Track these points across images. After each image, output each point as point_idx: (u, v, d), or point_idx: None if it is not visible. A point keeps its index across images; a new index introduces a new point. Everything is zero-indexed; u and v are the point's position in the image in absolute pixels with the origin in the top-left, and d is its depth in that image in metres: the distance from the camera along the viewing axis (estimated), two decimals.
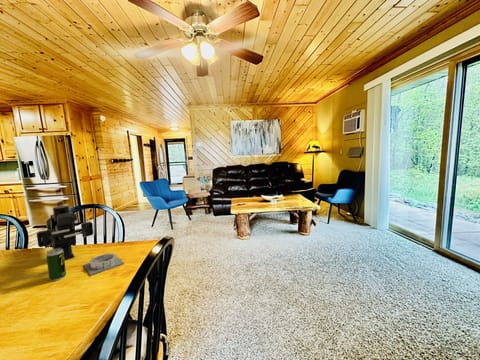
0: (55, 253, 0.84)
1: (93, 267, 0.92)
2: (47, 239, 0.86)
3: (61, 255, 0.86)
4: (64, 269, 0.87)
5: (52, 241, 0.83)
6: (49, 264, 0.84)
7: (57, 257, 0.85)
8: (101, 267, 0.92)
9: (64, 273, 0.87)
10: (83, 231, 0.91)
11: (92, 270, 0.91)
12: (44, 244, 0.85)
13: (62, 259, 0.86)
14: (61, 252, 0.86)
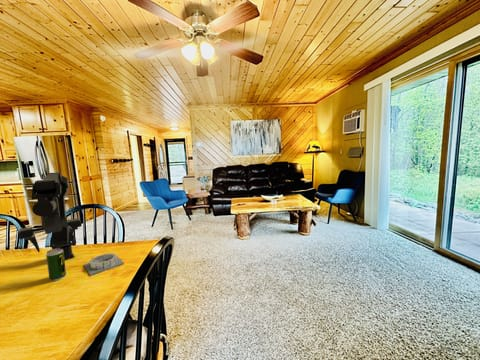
0: (55, 253, 0.84)
1: (93, 267, 0.92)
2: None
3: (61, 255, 0.86)
4: (64, 269, 0.87)
5: None
6: (49, 264, 0.84)
7: (57, 257, 0.85)
8: (101, 267, 0.92)
9: (64, 273, 0.87)
10: (69, 238, 0.88)
11: (92, 270, 0.91)
12: None
13: (62, 259, 0.86)
14: (61, 252, 0.86)
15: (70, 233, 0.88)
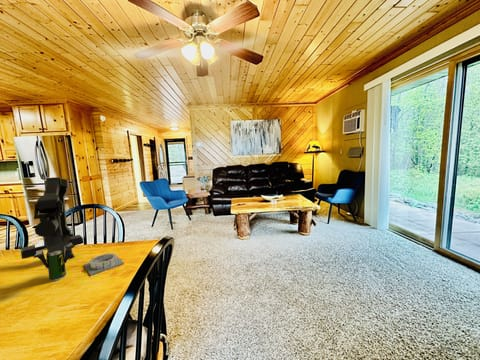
0: (55, 253, 0.84)
1: (93, 267, 0.92)
2: None
3: (61, 255, 0.86)
4: (64, 269, 0.87)
5: (44, 264, 0.84)
6: (49, 264, 0.84)
7: (57, 257, 0.85)
8: (101, 267, 0.92)
9: (64, 273, 0.87)
10: (66, 257, 0.88)
11: (92, 270, 0.91)
12: None
13: (62, 259, 0.86)
14: (61, 252, 0.86)
15: (67, 251, 0.88)
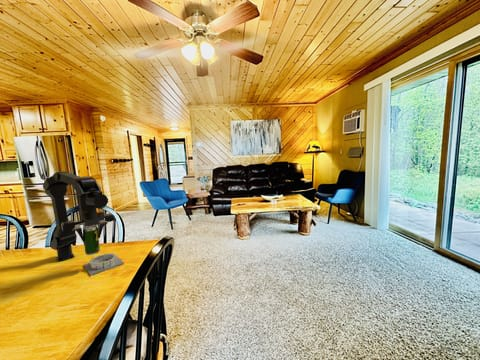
0: (91, 229, 0.91)
1: (93, 267, 0.92)
2: None
3: (96, 232, 0.93)
4: (98, 245, 0.94)
5: (81, 238, 0.90)
6: (86, 239, 0.90)
7: (93, 233, 0.91)
8: (101, 267, 0.92)
9: (98, 248, 0.94)
10: (100, 232, 0.94)
11: (92, 270, 0.91)
12: None
13: (97, 235, 0.93)
14: (96, 228, 0.93)
15: (100, 227, 0.94)
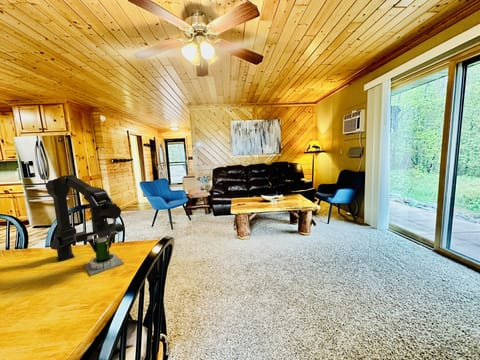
0: (102, 240, 0.94)
1: (93, 267, 0.92)
2: None
3: (107, 243, 0.96)
4: (109, 255, 0.97)
5: (92, 248, 0.93)
6: (97, 250, 0.93)
7: (104, 244, 0.94)
8: (101, 267, 0.92)
9: (109, 258, 0.97)
10: (110, 242, 0.98)
11: (92, 270, 0.91)
12: None
13: (108, 246, 0.96)
14: (107, 239, 0.96)
15: (111, 238, 0.97)
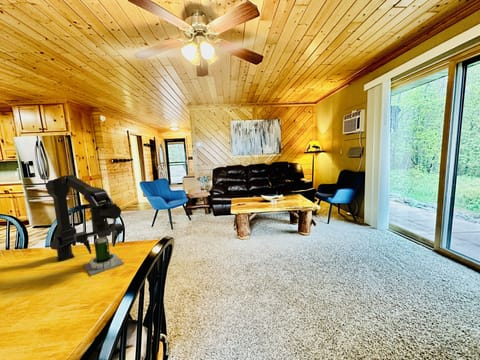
0: (103, 241, 0.94)
1: (93, 267, 0.92)
2: None
3: (107, 243, 0.96)
4: (109, 256, 0.97)
5: (88, 250, 0.92)
6: (97, 251, 0.94)
7: (104, 244, 0.94)
8: (101, 267, 0.92)
9: (109, 259, 0.97)
10: (114, 241, 0.99)
11: (92, 270, 0.91)
12: None
13: (108, 246, 0.96)
14: (107, 240, 0.96)
15: (115, 237, 0.99)
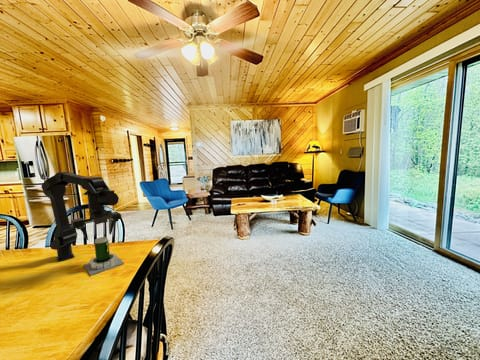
0: (102, 241, 0.94)
1: (93, 267, 0.92)
2: None
3: (107, 243, 0.96)
4: (109, 256, 0.97)
5: None
6: (97, 251, 0.94)
7: (104, 244, 0.94)
8: (101, 267, 0.92)
9: (109, 259, 0.97)
10: (111, 229, 1.00)
11: (92, 270, 0.91)
12: None
13: (108, 246, 0.96)
14: (107, 240, 0.96)
15: (112, 224, 1.00)
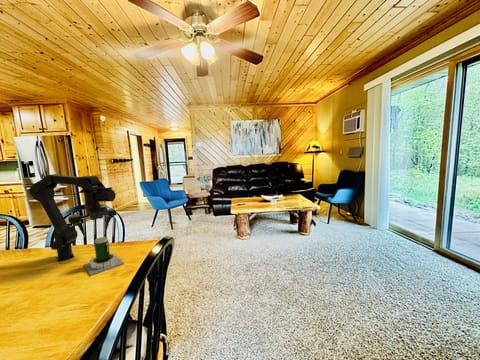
0: (102, 241, 0.94)
1: (93, 267, 0.92)
2: None
3: (107, 243, 0.96)
4: (109, 255, 0.97)
5: None
6: (97, 251, 0.94)
7: (104, 244, 0.94)
8: (101, 267, 0.92)
9: (109, 259, 0.97)
10: (107, 225, 1.05)
11: (92, 270, 0.91)
12: None
13: (108, 246, 0.96)
14: (107, 240, 0.96)
15: (107, 220, 1.05)
